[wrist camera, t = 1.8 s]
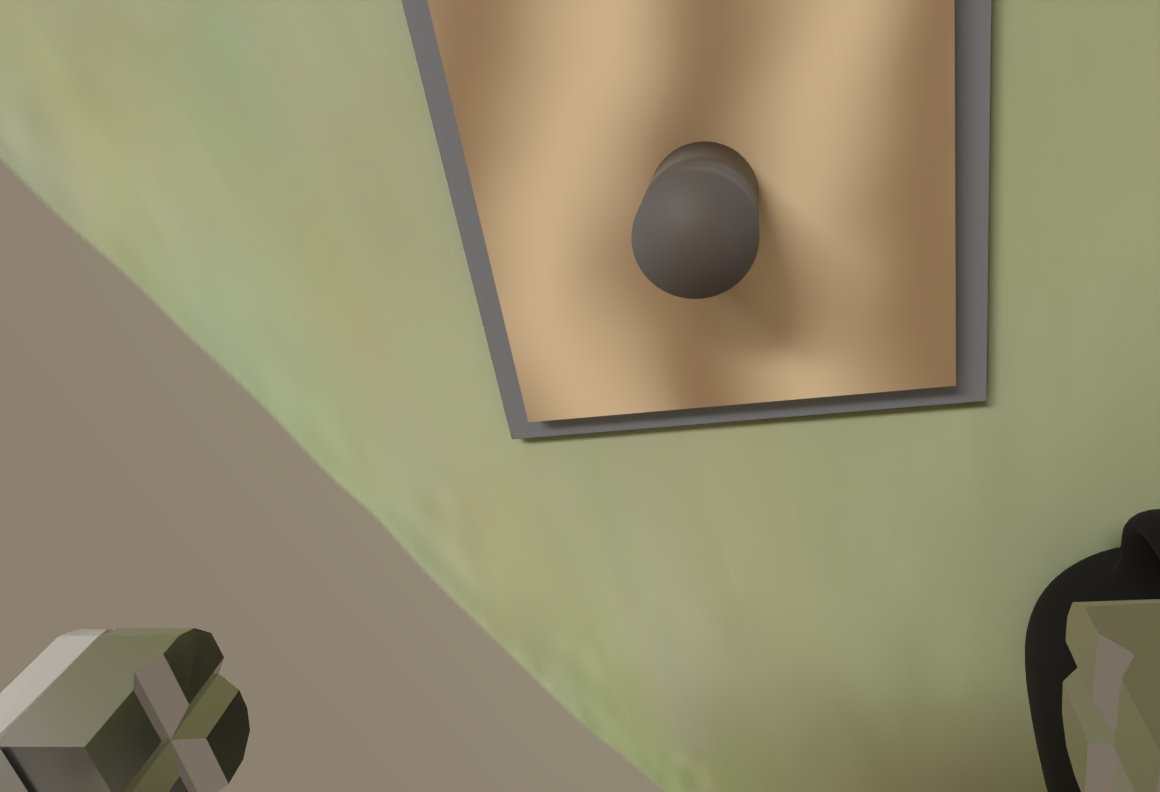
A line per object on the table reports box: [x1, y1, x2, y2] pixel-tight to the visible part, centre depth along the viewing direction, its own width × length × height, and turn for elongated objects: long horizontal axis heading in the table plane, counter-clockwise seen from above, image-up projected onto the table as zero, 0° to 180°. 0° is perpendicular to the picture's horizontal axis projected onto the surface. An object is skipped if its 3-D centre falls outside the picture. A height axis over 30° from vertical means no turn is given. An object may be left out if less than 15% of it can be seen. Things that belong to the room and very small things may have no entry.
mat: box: [402, 0, 991, 439], centre depth 25 cm, size 15×15×1 cm
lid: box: [427, 0, 956, 422], centre depth 23 cm, size 13×13×5 cm
